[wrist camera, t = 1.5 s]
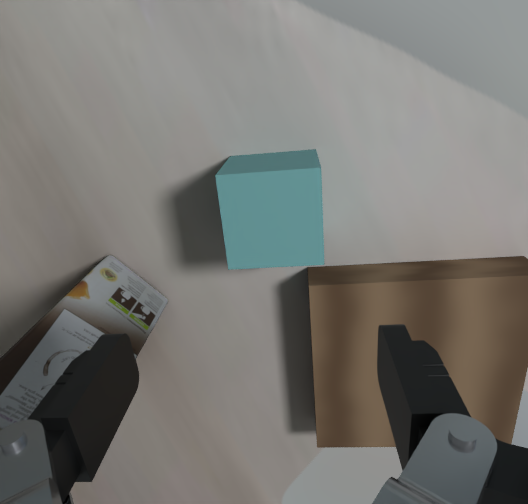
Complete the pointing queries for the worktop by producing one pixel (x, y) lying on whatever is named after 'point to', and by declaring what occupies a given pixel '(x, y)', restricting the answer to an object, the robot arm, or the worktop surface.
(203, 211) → the worktop surface
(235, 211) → the teal cube
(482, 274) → the walnut stand
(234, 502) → the worktop surface
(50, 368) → the coffee box
